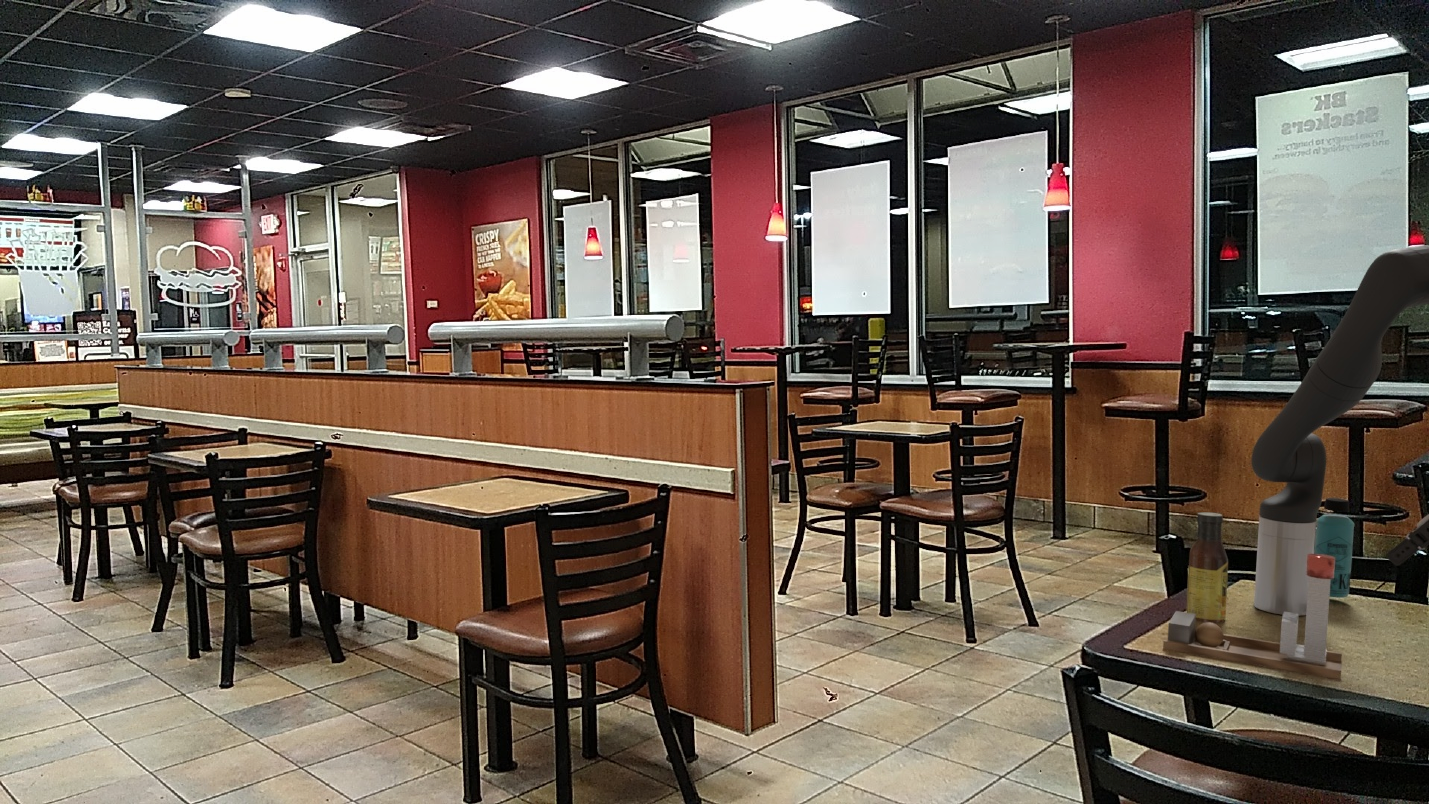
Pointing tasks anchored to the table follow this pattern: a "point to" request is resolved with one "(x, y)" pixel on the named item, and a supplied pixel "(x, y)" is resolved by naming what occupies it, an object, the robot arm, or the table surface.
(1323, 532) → the beverage bottle
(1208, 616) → the sauce bottle
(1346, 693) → the table surface
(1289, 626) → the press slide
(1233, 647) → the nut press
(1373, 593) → the table surface
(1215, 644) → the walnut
